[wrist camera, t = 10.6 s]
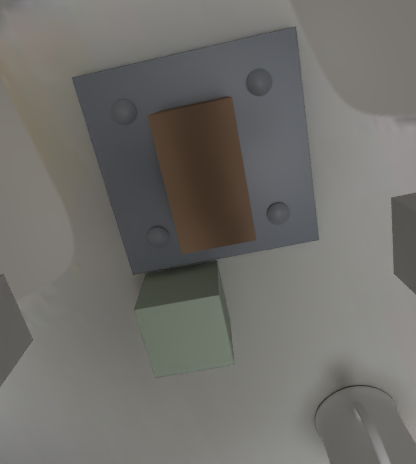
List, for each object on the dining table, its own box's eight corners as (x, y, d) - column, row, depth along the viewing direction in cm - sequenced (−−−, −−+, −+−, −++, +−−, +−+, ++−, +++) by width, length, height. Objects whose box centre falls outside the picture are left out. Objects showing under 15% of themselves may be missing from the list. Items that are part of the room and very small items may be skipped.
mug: (303, 369, 37) (345, 490, 26) (389, 352, 36) (471, 468, 25) (320, 452, 41) (363, 587, 30) (398, 437, 40) (472, 571, 29)
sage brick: (163, 332, 36) (155, 377, 30) (146, 273, 33) (133, 310, 28) (230, 321, 35) (234, 364, 29) (217, 260, 33) (218, 295, 27)
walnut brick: (186, 224, 30) (182, 254, 25) (159, 110, 27) (147, 115, 21) (247, 212, 30) (256, 240, 24) (227, 96, 27) (232, 97, 21)
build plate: (135, 268, 33) (132, 276, 32) (77, 78, 27) (70, 77, 26) (314, 234, 32) (319, 241, 30) (292, 29, 26) (297, 25, 25)
